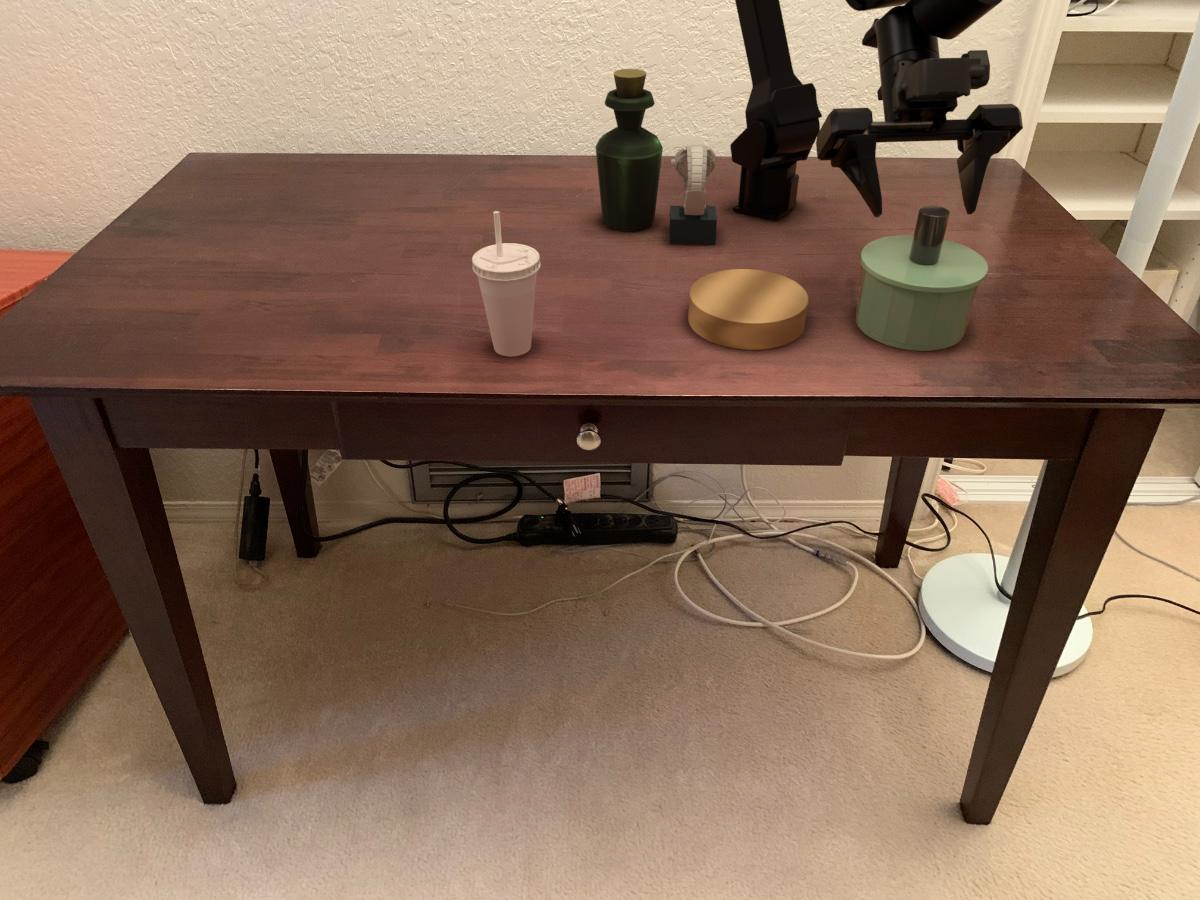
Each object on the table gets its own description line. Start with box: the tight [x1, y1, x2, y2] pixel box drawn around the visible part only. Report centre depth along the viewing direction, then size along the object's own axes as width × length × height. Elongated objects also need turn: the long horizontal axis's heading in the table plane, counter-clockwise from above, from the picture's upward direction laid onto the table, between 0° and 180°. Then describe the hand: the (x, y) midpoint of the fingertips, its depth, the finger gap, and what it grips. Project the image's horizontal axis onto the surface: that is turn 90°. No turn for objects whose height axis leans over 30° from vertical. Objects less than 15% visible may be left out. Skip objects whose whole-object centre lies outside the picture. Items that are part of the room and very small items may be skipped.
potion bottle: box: [595, 68, 664, 232], centre depth 110 cm, size 8×8×18 cm
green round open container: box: [855, 268, 979, 352], centre depth 91 cm, size 11×11×7 cm
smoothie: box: [471, 210, 542, 357], centre depth 86 cm, size 6×6×14 cm
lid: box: [859, 204, 989, 293], centre depth 88 cm, size 12×12×6 cm
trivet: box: [687, 268, 809, 351], centre depth 93 cm, size 12×12×3 cm
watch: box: [668, 143, 718, 246], centre depth 108 cm, size 6×8×11 cm
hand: (925, 214), depth 88 cm, fingers open, 9 cm apart
